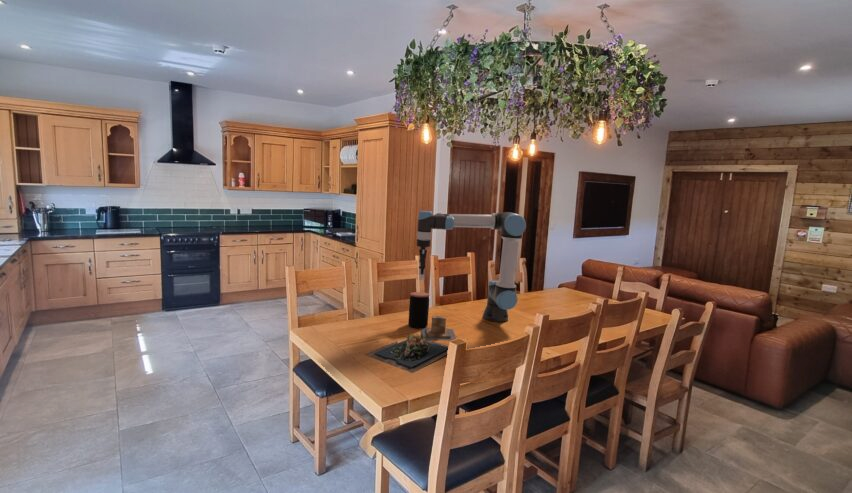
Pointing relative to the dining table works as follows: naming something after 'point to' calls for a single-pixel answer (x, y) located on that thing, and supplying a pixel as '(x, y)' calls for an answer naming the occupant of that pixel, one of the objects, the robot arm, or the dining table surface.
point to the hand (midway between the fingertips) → (421, 277)
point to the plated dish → (410, 353)
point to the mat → (439, 338)
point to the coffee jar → (418, 310)
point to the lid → (438, 328)
